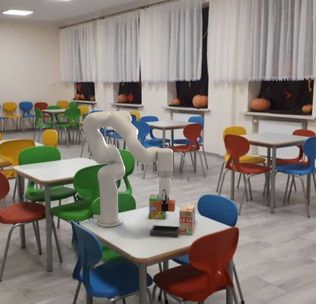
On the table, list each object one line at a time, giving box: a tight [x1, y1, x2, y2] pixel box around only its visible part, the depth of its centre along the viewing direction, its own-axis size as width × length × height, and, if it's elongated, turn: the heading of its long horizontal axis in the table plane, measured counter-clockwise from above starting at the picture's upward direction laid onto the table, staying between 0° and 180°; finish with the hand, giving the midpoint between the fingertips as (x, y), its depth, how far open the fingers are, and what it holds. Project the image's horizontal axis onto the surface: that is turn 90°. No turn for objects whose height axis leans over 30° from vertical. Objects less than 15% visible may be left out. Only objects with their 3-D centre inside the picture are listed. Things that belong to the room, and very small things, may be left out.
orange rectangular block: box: [156, 199, 176, 213], centre depth 208 cm, size 9×5×4 cm, turn 79°
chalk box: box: [148, 193, 167, 220], centre depth 235 cm, size 9×9×15 cm
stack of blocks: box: [178, 203, 196, 236], centre depth 218 cm, size 21×6×12 cm, turn 168°
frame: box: [149, 224, 180, 238], centre depth 211 cm, size 14×10×2 cm
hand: (165, 209), depth 209 cm, fingers closed on orange rectangular block, 5 cm apart
